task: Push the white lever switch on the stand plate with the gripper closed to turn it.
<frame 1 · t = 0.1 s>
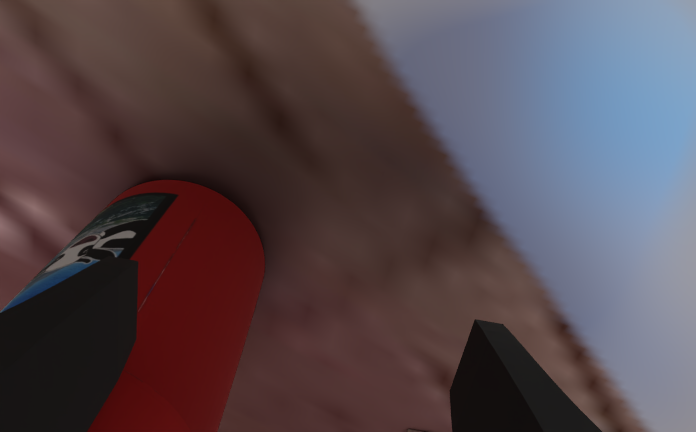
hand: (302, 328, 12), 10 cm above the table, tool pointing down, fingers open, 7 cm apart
beverage can: (188, 245, 23), on the table
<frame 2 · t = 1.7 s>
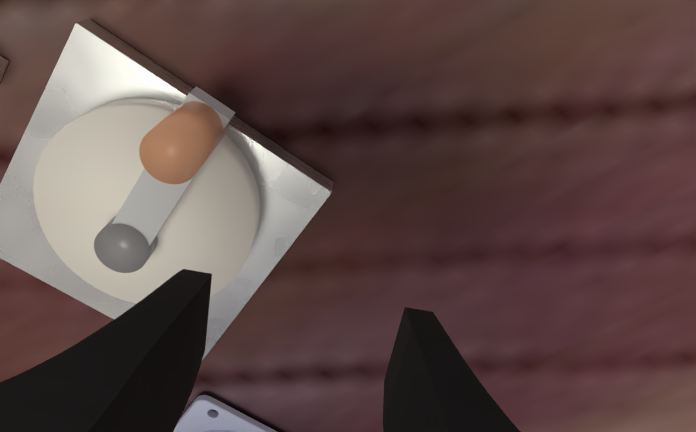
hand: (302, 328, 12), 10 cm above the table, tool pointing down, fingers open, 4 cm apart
white lever switch: (140, 217, 18), point 3 cm above the table, hinge at -90.0°
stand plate: (155, 207, 22), on the table
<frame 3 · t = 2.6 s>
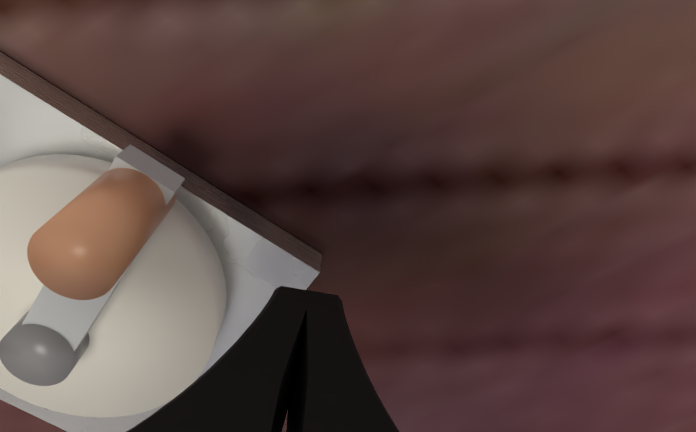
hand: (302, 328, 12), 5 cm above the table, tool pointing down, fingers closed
white lever switch: (58, 318, 13), point 4 cm above the table, hinge at -90.0°
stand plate: (94, 284, 17), on the table
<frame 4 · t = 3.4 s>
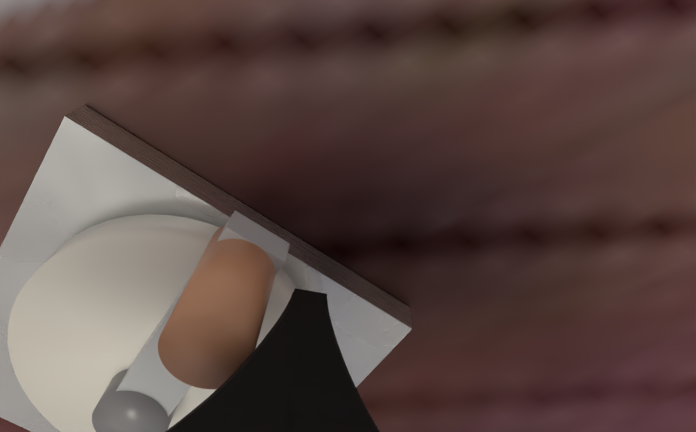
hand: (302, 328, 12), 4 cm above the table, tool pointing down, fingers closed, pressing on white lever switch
white lever switch: (156, 387, 13), point 4 cm above the table, hinge at -89.5°, touching gripper
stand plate: (172, 336, 17), on the table
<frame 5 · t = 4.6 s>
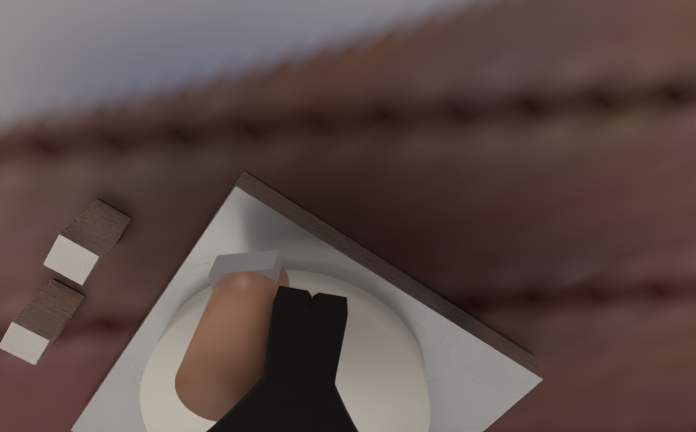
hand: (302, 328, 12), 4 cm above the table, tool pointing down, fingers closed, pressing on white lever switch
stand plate: (300, 381, 17), on the table
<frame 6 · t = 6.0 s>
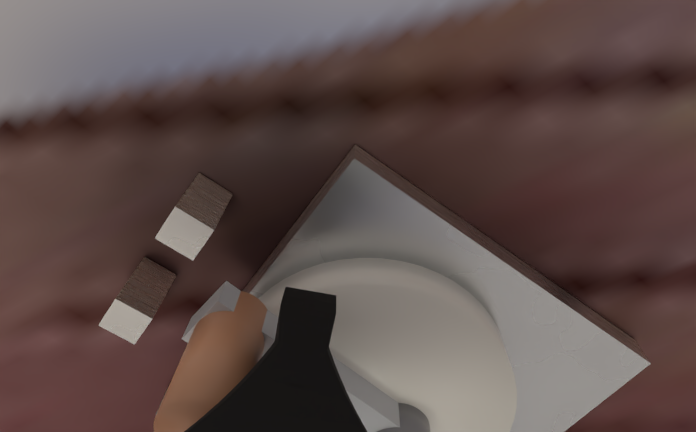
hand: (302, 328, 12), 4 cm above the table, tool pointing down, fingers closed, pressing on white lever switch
white lever switch: (348, 431, 13), point 3 cm above the table, hinge at -5.9°, touching gripper
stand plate: (391, 365, 17), on the table
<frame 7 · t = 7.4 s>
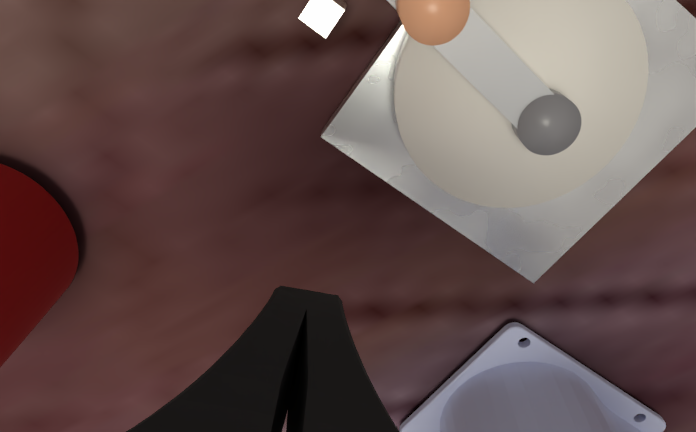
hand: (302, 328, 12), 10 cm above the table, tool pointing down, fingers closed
white lever switch: (514, 90, 16), point 4 cm above the table, hinge at -6.3°
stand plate: (521, 98, 20), on the table
beverage can: (7, 226, 23), on the table
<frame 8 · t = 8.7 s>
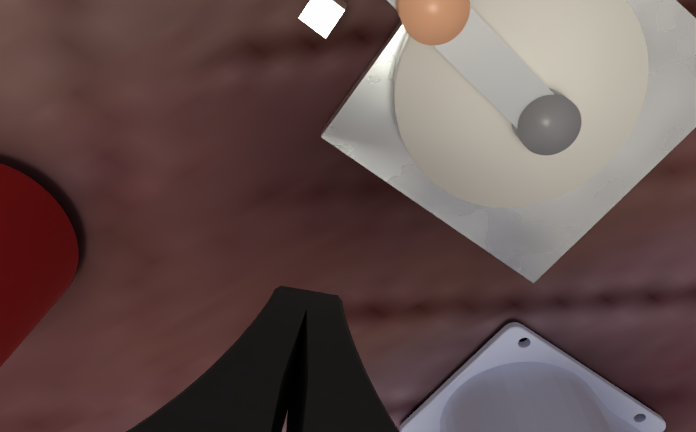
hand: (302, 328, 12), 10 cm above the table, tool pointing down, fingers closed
white lever switch: (514, 90, 16), point 4 cm above the table, hinge at -6.3°
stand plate: (521, 98, 20), on the table
beverage can: (7, 226, 23), on the table
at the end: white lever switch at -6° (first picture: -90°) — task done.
